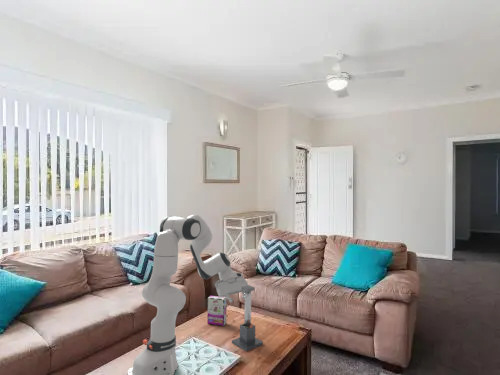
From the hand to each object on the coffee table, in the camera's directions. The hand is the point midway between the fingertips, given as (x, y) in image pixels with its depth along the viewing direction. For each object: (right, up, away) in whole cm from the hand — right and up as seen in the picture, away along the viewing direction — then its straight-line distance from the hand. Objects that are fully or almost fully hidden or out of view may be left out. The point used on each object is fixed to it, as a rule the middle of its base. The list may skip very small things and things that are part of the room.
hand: (238, 300), depth 183 cm
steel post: (+5, -14, -6) cm, 17 cm away
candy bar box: (-14, -22, +19) cm, 32 cm away
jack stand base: (+5, -22, -6) cm, 23 cm away
